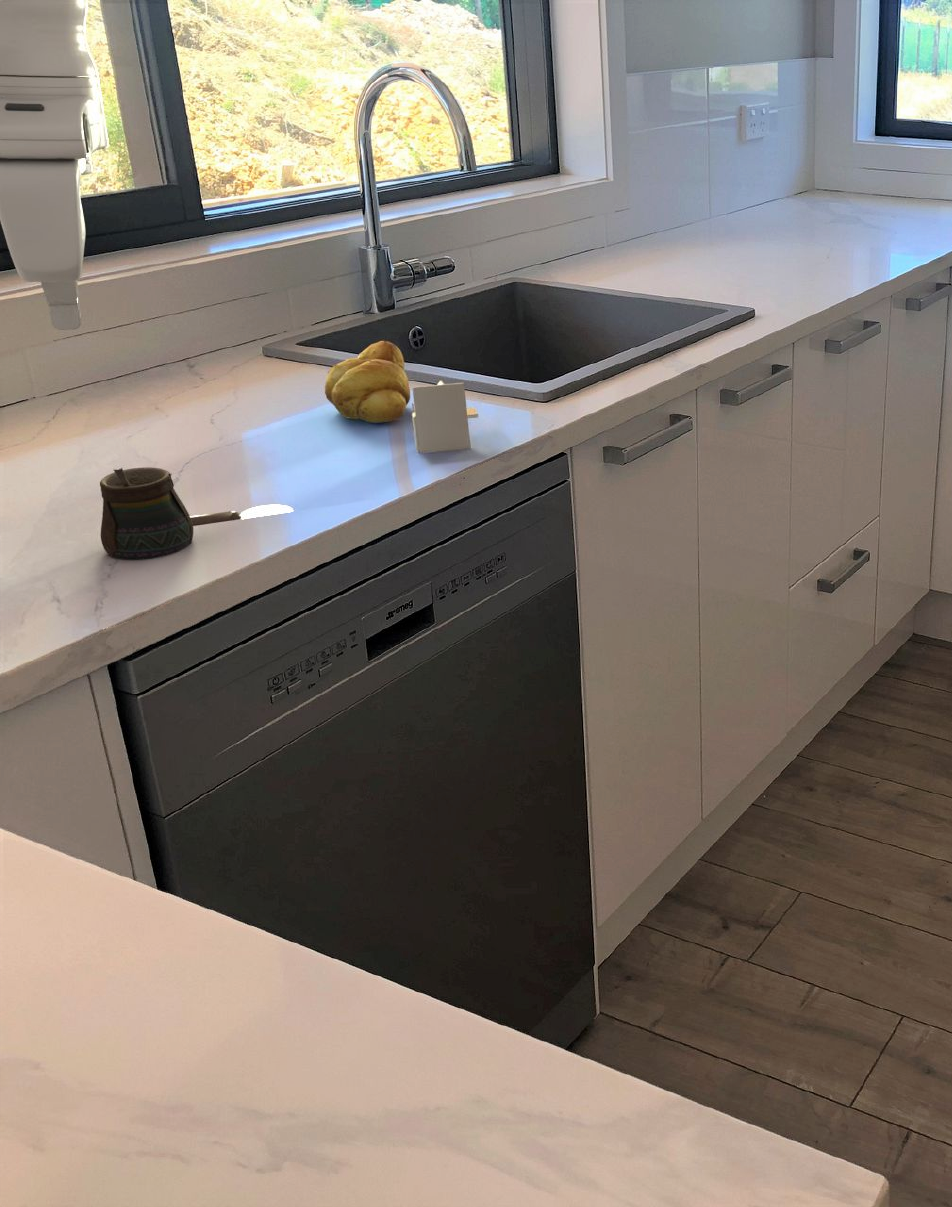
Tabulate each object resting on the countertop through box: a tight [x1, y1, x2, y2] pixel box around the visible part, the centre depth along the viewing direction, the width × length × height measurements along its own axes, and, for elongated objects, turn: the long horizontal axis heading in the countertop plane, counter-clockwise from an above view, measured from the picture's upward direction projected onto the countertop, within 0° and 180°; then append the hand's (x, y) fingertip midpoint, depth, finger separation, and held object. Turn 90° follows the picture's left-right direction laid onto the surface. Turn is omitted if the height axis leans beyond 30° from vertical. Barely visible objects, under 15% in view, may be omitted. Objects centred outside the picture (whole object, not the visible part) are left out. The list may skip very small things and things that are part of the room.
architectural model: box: [411, 380, 479, 454], centre depth 146 cm, size 3×7×7 cm, turn 112°
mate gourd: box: [99, 466, 194, 561], centre depth 113 cm, size 7×8×10 cm
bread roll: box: [324, 340, 411, 424], centre depth 157 cm, size 13×10×8 cm
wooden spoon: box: [190, 504, 294, 527], centre depth 122 cm, size 14×5×2 cm, turn 116°
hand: (67, 325), depth 94 cm, fingers closed
